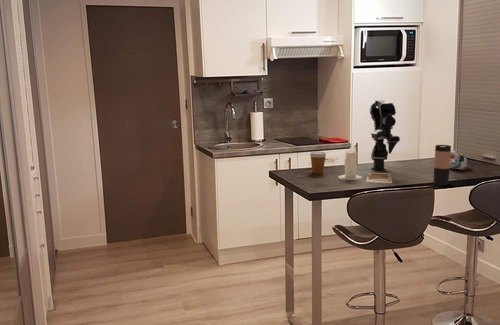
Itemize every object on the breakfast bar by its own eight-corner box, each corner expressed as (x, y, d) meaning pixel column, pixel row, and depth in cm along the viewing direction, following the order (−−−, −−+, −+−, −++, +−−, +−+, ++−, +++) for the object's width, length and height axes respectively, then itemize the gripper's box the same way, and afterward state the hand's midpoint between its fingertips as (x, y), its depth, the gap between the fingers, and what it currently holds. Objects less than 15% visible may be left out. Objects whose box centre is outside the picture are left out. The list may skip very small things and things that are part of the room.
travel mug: (430, 182, 252) (432, 144, 248) (444, 181, 252) (446, 144, 249) (437, 185, 244) (439, 147, 240) (451, 184, 245) (454, 146, 241)
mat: (334, 177, 266) (334, 175, 265) (354, 175, 270) (354, 173, 270) (346, 182, 254) (346, 180, 253) (366, 180, 258) (367, 178, 258)
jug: (348, 175, 266) (349, 150, 263) (358, 176, 262) (358, 152, 259) (340, 178, 260) (341, 152, 257) (350, 179, 256) (350, 154, 253)
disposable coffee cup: (315, 175, 273) (316, 154, 271) (306, 172, 281) (306, 152, 279) (329, 173, 277) (329, 153, 275) (319, 170, 286) (319, 150, 283)
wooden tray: (366, 178, 262) (367, 172, 261) (391, 179, 259) (391, 173, 258) (366, 183, 250) (366, 177, 249) (392, 185, 246) (392, 178, 246)
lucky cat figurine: (472, 170, 278) (465, 151, 273) (451, 177, 282) (444, 158, 277) (465, 159, 291) (458, 140, 286) (445, 166, 295) (438, 147, 290)
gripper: (364, 124, 272) (363, 150, 275) (383, 127, 255) (382, 155, 258) (380, 123, 276) (379, 149, 279) (401, 126, 258) (399, 154, 261)
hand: (384, 152), depth 269 cm, fingers open, 9 cm apart
